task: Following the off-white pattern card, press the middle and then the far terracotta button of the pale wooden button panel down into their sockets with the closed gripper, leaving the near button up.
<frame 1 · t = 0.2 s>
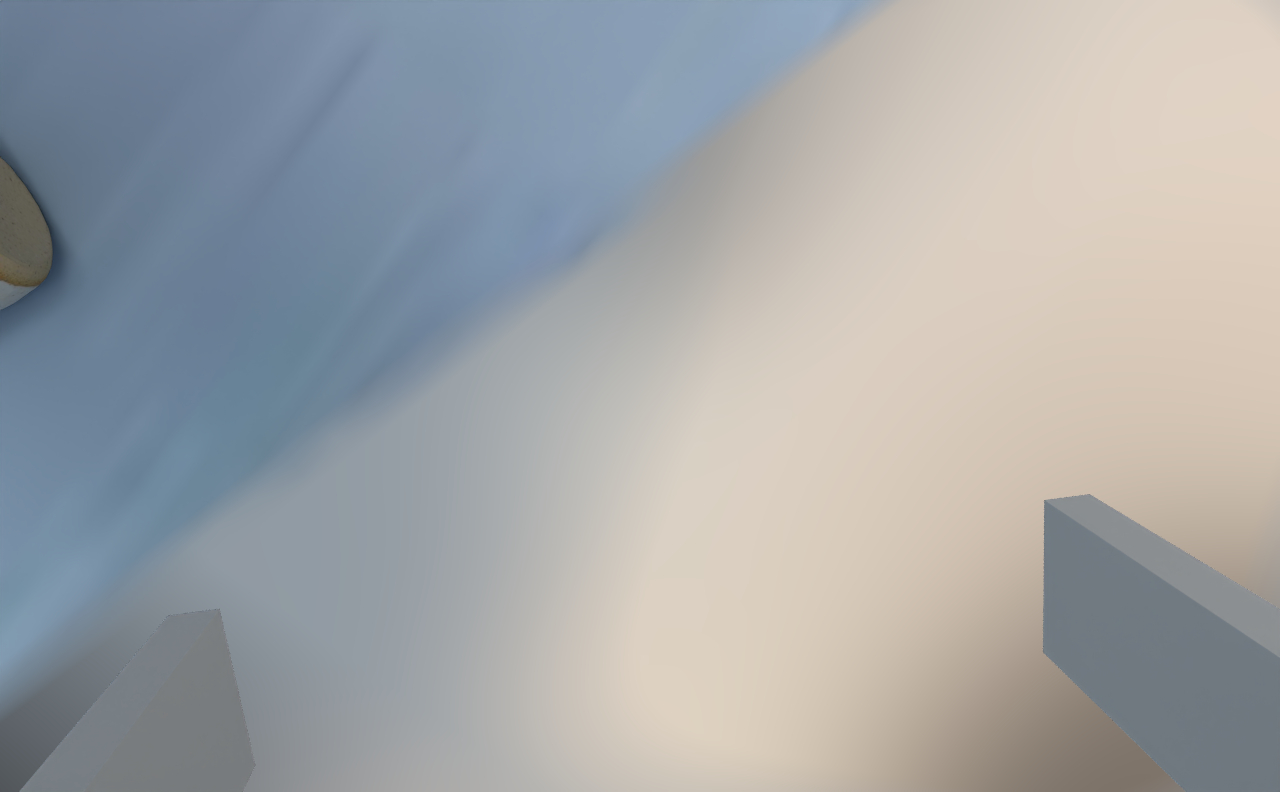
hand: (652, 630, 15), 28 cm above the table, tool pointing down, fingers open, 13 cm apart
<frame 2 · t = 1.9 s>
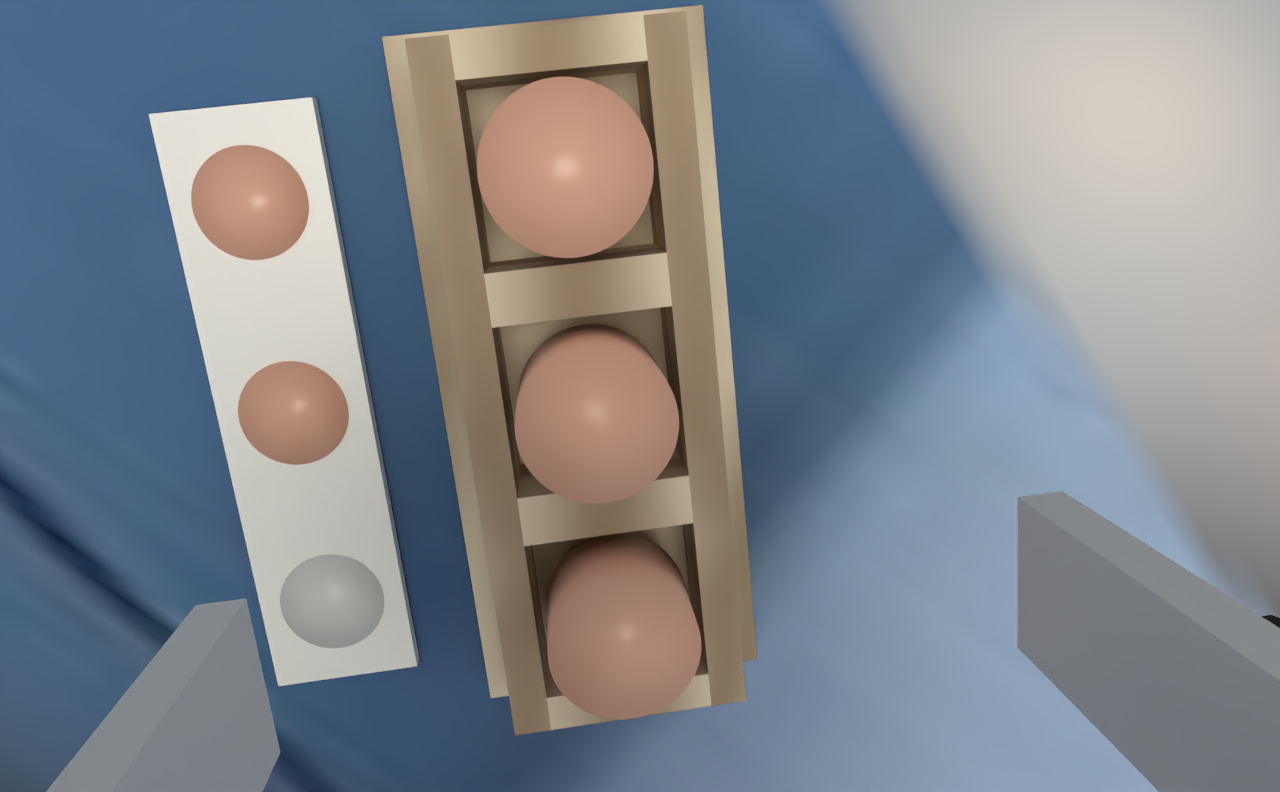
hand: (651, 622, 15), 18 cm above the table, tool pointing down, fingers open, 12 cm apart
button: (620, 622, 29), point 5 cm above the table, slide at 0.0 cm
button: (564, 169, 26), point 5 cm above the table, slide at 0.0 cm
button panel: (587, 372, 33), on the table
pattern card: (298, 408, 32), on the table
button middle: (594, 410, 28), point 5 cm above the table, slide at 0.0 cm
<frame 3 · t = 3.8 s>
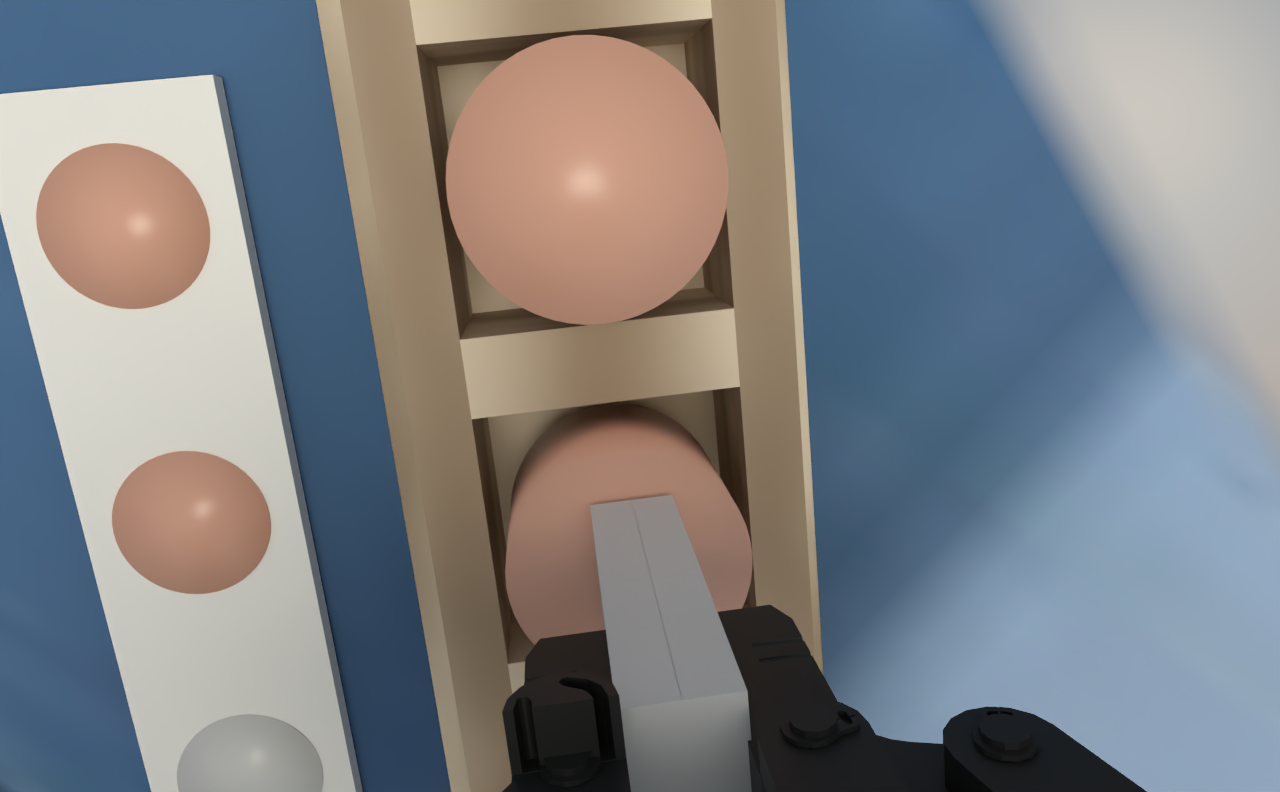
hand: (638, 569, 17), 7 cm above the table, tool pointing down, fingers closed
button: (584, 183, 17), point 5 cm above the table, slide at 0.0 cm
button panel: (606, 463, 24), on the table
pattern card: (201, 514, 23), on the table
button middle: (622, 534, 19), point 5 cm above the table, slide at 0.4 cm, touching gripper
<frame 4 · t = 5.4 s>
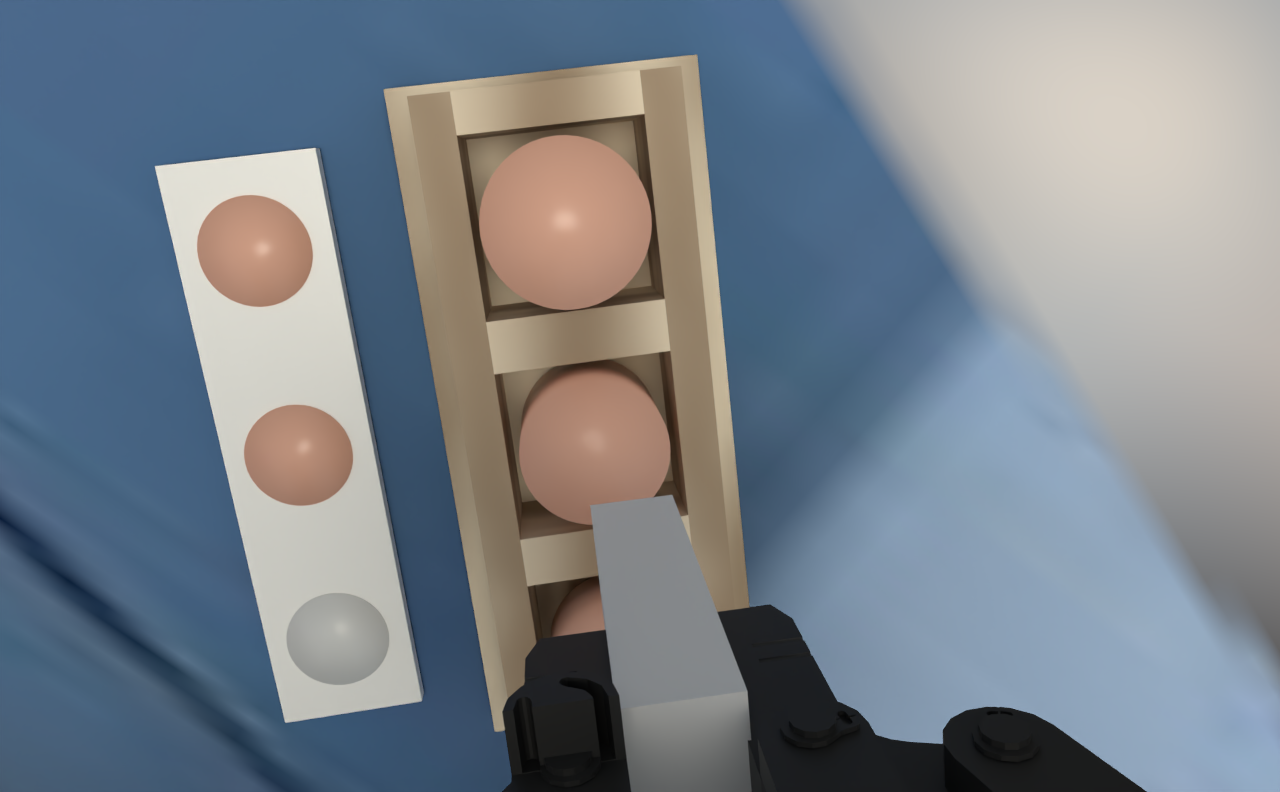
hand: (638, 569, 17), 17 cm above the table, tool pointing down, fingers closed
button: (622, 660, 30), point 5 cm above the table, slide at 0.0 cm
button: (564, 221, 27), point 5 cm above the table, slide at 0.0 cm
button panel: (587, 411, 33), on the table
pattern card: (303, 450, 33), on the table
button middle: (592, 437, 30), point 3 cm above the table, slide at 1.8 cm
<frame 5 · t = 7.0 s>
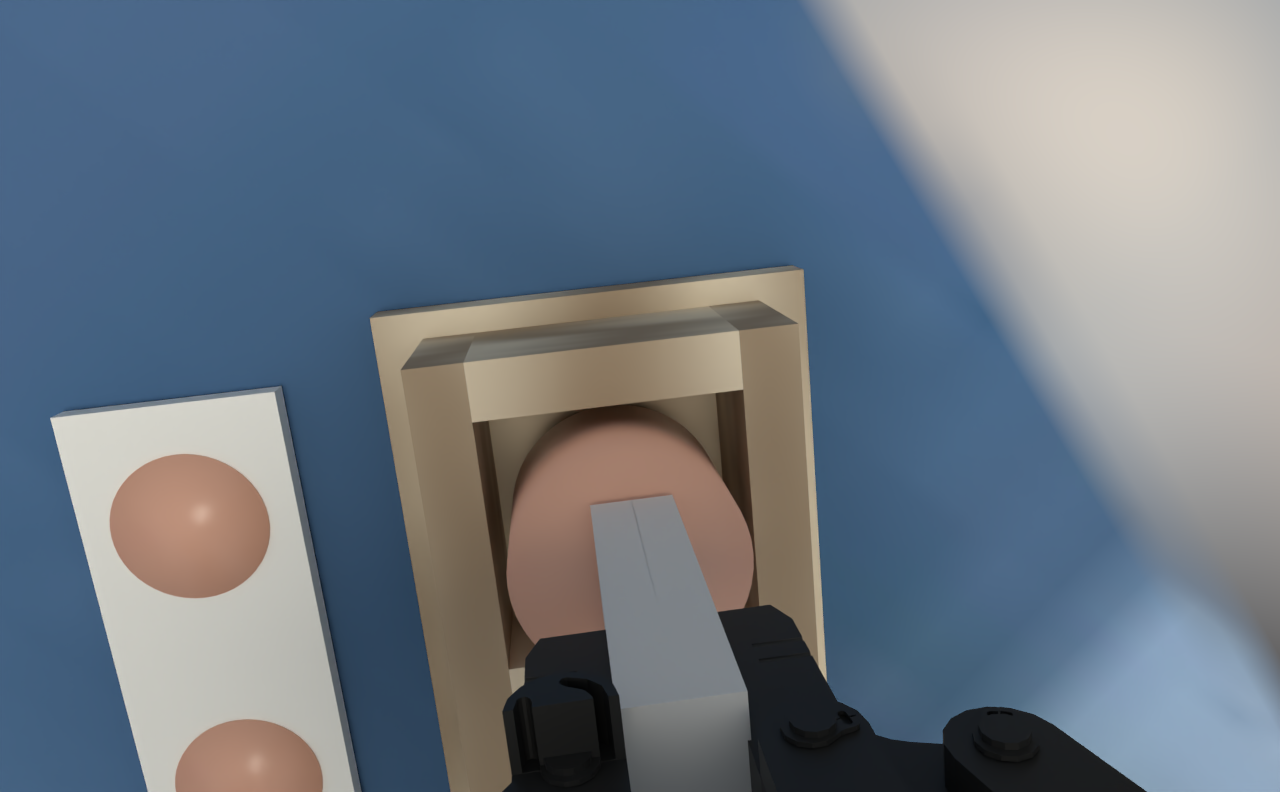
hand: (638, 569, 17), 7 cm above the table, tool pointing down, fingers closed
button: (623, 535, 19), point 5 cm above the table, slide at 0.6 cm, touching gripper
button panel: (636, 712, 25), on the table
pattern card: (257, 767, 24), on the table
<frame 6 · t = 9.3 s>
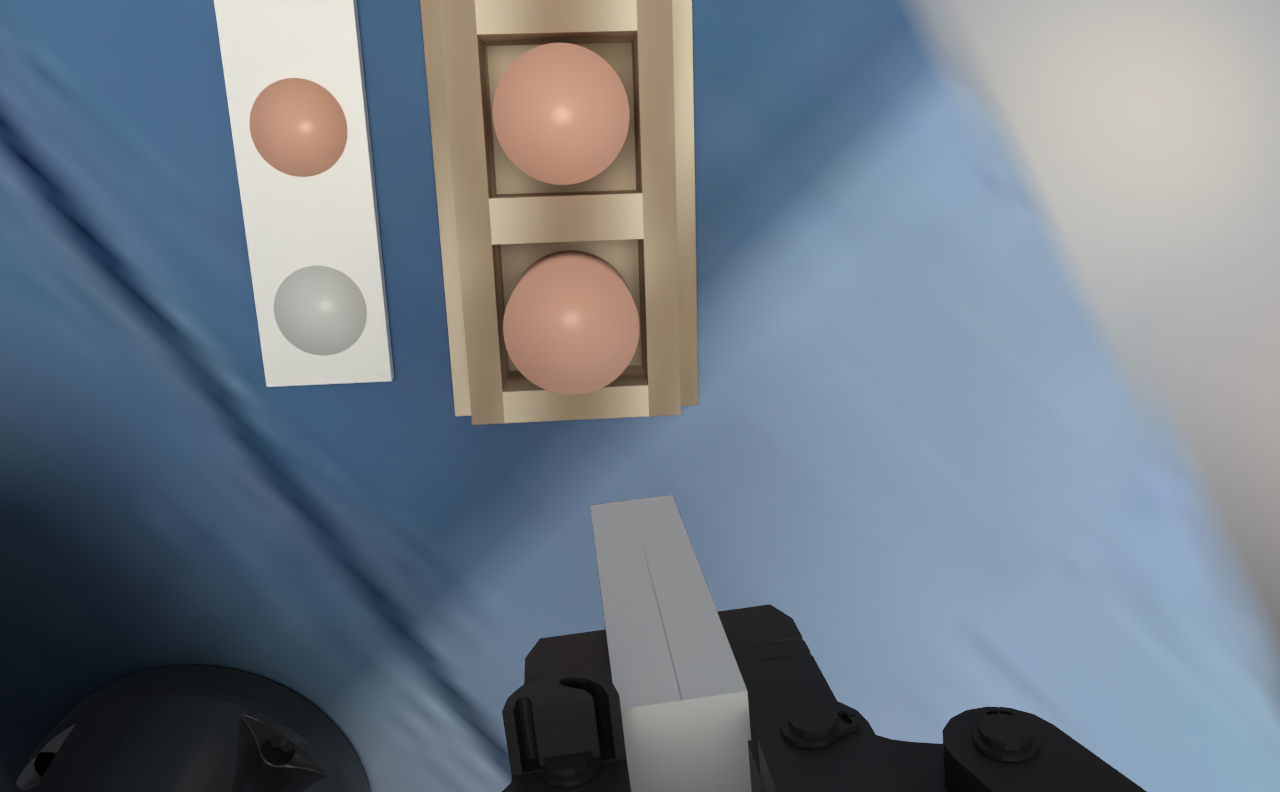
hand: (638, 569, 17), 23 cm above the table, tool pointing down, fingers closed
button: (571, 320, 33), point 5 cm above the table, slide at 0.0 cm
button panel: (563, 120, 37), on the table
pattern card: (303, 128, 36), on the table
button middle: (562, 117, 33), point 3 cm above the table, slide at 1.8 cm
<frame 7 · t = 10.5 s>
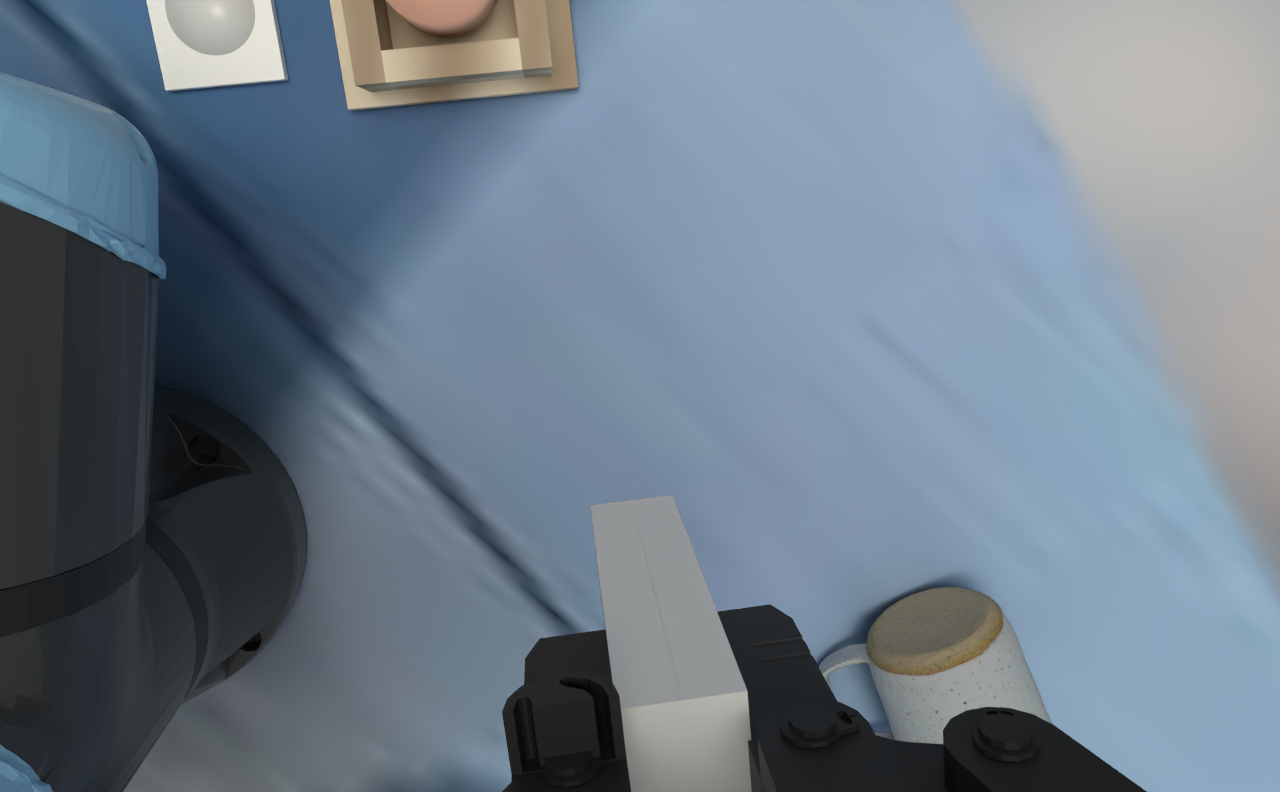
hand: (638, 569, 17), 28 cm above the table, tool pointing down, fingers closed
ceramic mug: (903, 662, 51), on the table
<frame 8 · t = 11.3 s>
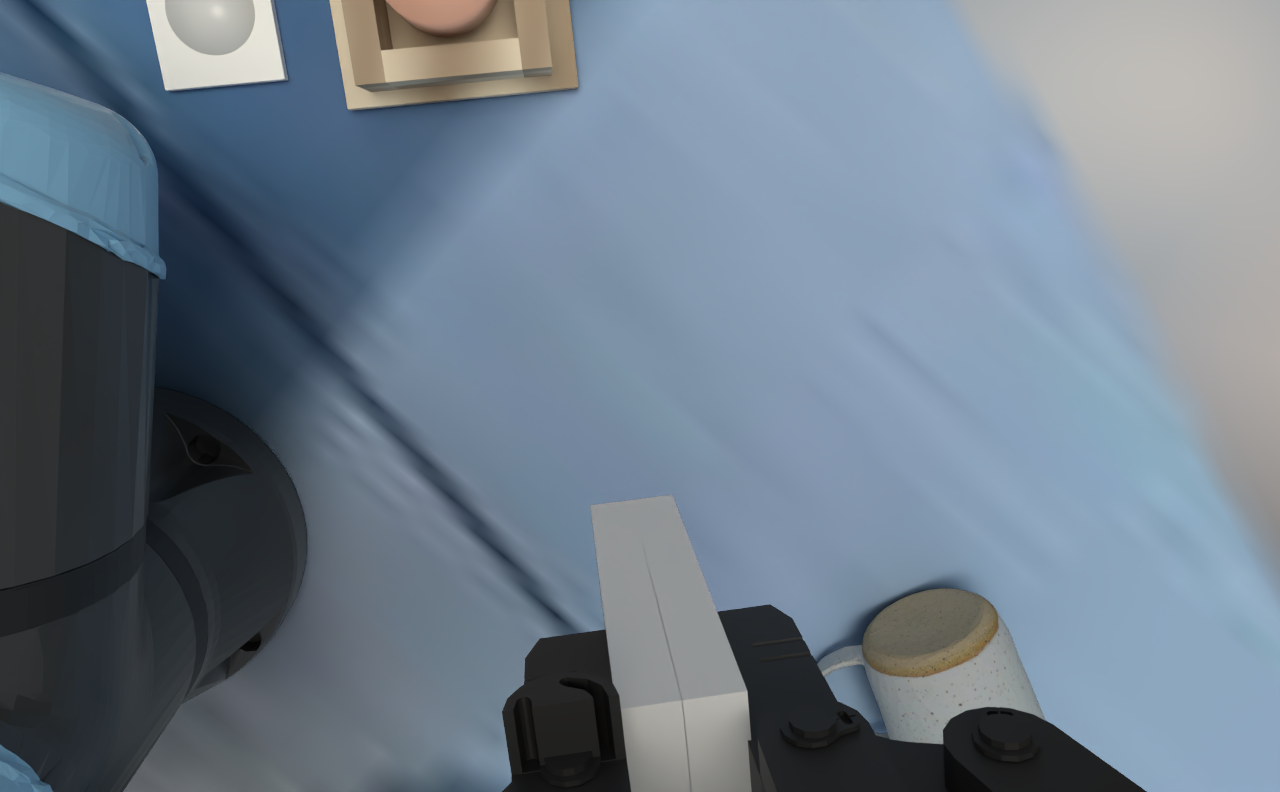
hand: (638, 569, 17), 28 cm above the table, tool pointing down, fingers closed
ceramic mug: (899, 664, 51), on the table
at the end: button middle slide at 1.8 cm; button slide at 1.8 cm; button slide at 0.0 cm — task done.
